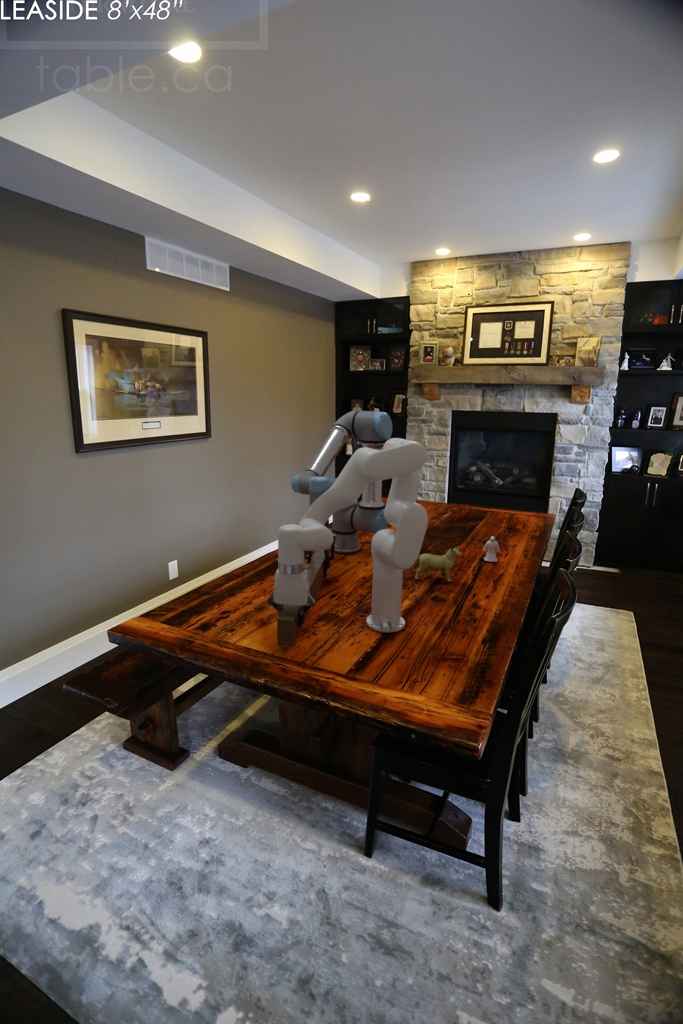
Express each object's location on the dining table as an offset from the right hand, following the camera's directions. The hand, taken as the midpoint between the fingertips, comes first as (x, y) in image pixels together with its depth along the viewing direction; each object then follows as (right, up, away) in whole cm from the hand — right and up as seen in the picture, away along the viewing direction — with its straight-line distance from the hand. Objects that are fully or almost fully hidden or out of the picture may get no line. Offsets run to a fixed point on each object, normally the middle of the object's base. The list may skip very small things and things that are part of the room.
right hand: (291, 624), depth 149 cm
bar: (+3, +2, +23) cm, 23 cm away
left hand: (+6, +9, +45) cm, 46 cm away
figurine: (+82, +12, +76) cm, 112 cm away
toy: (+53, +6, +51) cm, 74 cm away
